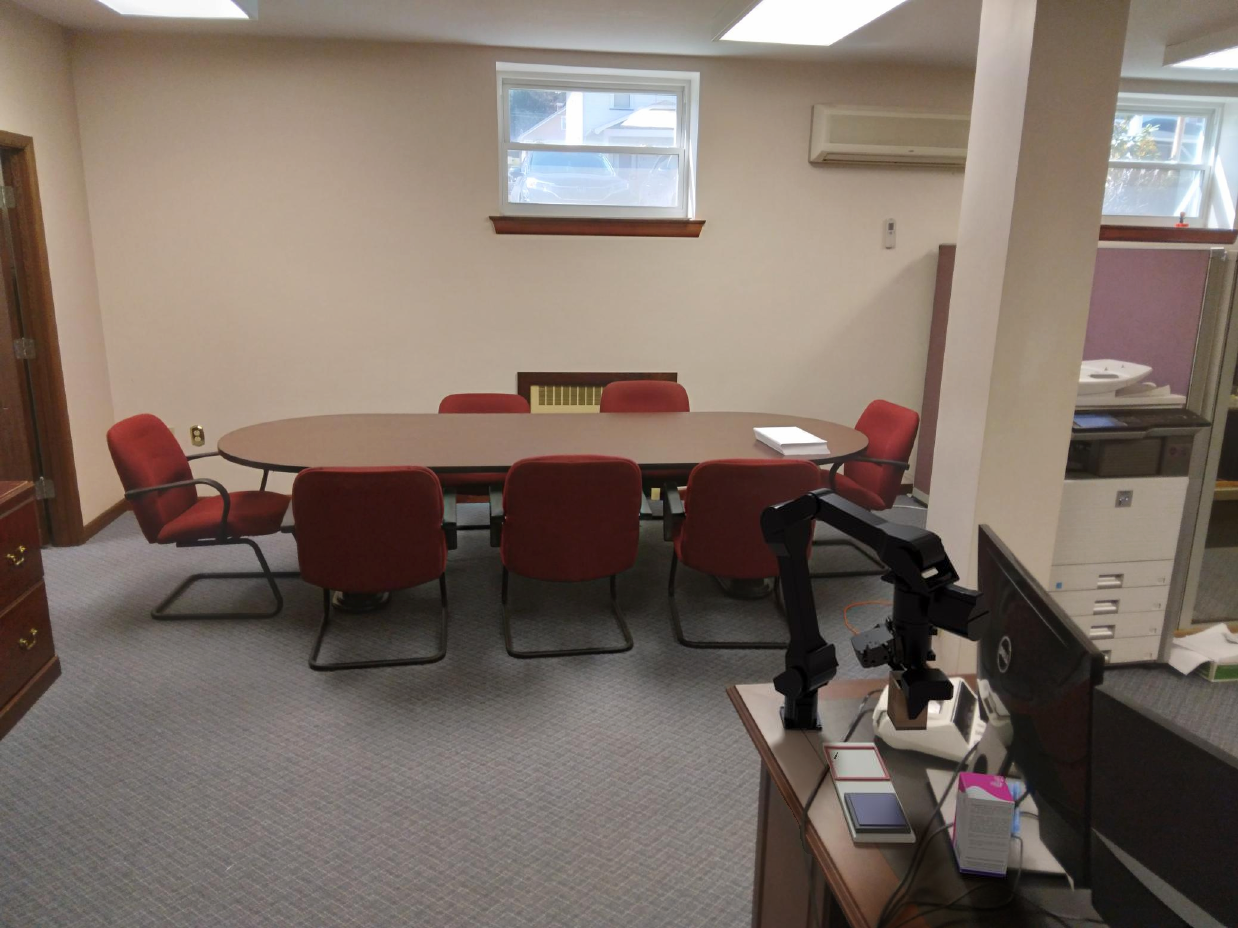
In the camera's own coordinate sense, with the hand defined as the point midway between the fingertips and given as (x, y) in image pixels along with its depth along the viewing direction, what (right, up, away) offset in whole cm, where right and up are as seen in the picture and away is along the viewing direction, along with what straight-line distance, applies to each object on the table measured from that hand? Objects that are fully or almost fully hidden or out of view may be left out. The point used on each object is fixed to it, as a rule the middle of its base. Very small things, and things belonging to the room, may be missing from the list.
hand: (906, 709), depth 119 cm
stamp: (0, -2, +1) cm, 2 cm away
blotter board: (-6, -13, +1) cm, 14 cm away
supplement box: (+5, -16, -13) cm, 21 cm away
